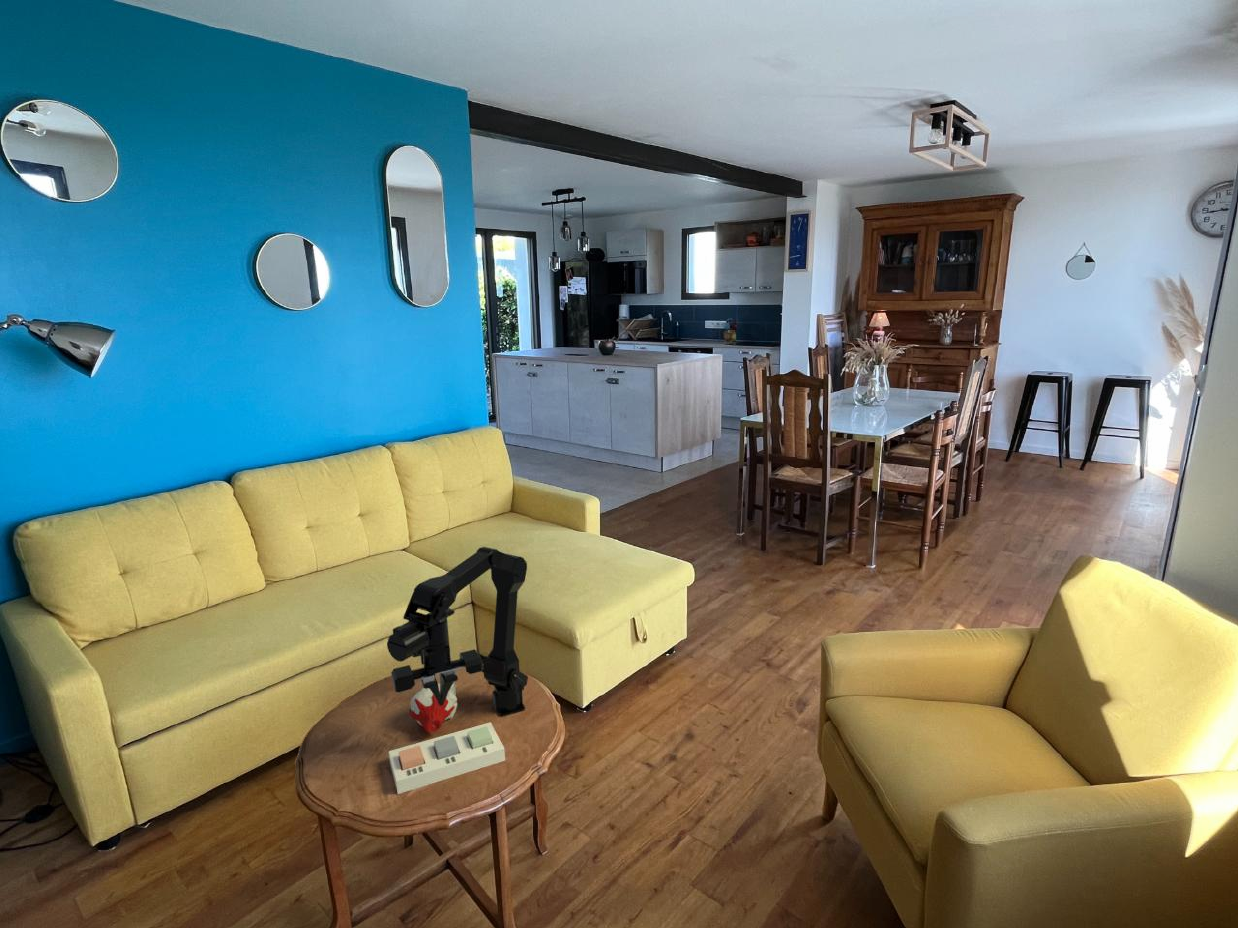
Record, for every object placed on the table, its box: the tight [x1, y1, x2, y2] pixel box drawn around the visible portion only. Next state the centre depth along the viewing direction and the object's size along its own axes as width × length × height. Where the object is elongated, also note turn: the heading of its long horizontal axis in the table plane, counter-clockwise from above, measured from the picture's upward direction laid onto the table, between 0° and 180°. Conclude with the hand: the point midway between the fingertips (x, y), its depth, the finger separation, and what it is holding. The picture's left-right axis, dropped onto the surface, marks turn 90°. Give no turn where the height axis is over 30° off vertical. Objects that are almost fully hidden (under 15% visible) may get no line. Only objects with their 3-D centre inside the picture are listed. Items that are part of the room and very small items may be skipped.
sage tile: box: [468, 726, 492, 750], centre depth 154 cm, size 4×4×2 cm
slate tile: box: [434, 736, 459, 760], centre depth 151 cm, size 4×4×2 cm
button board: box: [388, 722, 506, 795], centre depth 151 cm, size 23×11×3 cm, turn 116°
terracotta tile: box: [399, 746, 424, 770], centre depth 148 cm, size 4×4×2 cm
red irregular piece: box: [409, 681, 458, 734], centre depth 165 cm, size 9×11×15 cm
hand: (441, 704), depth 150 cm, fingers closed
